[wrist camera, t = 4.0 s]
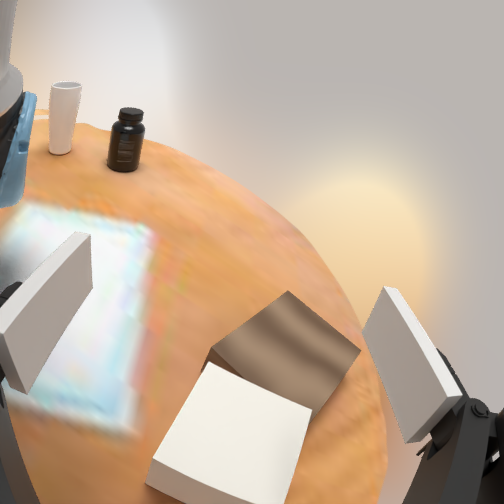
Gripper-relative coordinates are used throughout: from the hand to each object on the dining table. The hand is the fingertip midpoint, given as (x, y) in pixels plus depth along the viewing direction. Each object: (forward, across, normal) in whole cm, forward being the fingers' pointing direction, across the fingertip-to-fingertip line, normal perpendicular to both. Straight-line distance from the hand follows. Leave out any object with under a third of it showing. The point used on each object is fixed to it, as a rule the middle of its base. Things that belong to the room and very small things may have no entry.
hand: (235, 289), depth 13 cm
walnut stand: (+14, +8, -20) cm, 26 cm away
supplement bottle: (+51, -24, -9) cm, 57 cm away
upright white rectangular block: (+1, +1, -22) cm, 22 cm away
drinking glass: (+50, -39, -7) cm, 64 cm away
